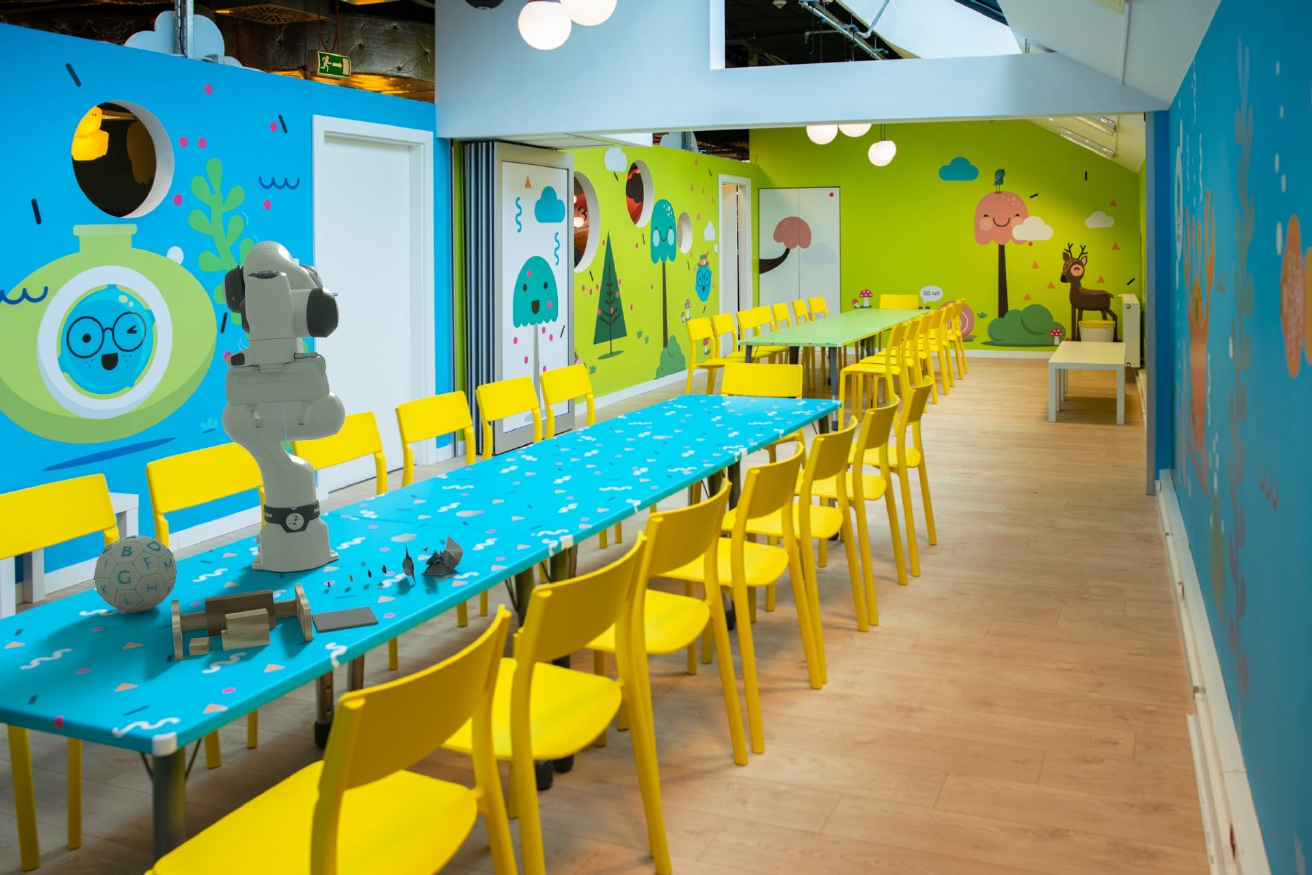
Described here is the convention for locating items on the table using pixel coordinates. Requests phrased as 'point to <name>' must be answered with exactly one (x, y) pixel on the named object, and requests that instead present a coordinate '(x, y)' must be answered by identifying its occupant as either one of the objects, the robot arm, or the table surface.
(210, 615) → the walnut board
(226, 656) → the table surface
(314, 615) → the mat
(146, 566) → the puzzle ball
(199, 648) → the offcut
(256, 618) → the offcut
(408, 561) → the toy fish set
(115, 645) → the table surface
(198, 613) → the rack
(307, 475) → the robot arm
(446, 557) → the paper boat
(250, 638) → the offcut
